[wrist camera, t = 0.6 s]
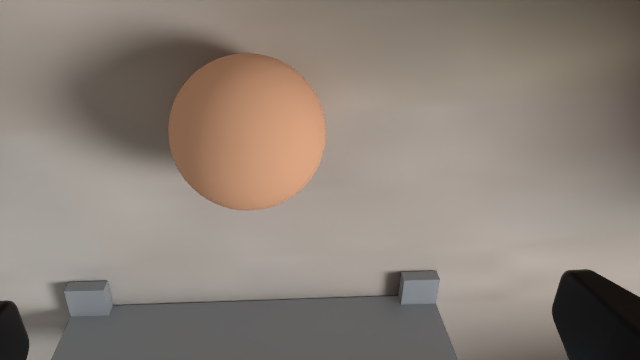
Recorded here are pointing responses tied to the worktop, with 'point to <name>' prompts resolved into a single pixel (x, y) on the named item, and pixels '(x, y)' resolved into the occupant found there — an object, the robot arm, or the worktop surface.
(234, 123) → the ball
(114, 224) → the worktop surface
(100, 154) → the worktop surface
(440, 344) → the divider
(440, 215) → the worktop surface
